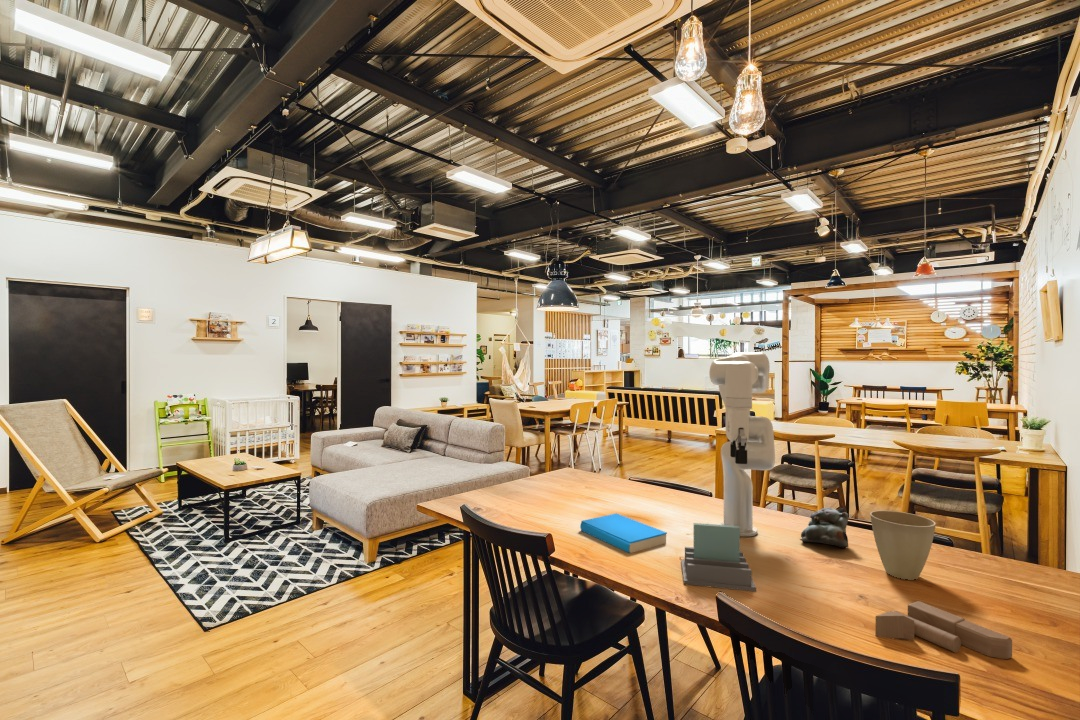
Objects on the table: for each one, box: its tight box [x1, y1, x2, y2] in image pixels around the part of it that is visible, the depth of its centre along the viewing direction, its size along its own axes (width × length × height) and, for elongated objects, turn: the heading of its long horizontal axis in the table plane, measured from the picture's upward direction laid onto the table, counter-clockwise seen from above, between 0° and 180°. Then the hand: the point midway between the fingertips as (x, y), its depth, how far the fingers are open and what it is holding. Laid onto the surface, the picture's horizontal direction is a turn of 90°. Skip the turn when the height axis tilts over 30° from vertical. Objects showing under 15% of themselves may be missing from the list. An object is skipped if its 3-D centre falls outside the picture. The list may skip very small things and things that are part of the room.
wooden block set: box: [875, 600, 1013, 660], centre depth 104 cm, size 17×6×18 cm
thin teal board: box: [692, 522, 741, 562], centre depth 138 cm, size 2×12×13 cm, turn 77°
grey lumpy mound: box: [799, 507, 849, 550], centre depth 163 cm, size 15×12×14 cm
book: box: [579, 512, 668, 554], centre depth 169 cm, size 17×4×25 cm
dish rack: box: [680, 546, 757, 592], centre depth 138 cm, size 15×18×5 cm
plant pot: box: [869, 510, 937, 581], centre depth 139 cm, size 15×15×16 cm
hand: (738, 460), depth 149 cm, fingers open, 9 cm apart
